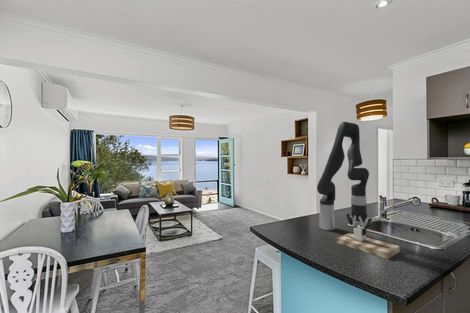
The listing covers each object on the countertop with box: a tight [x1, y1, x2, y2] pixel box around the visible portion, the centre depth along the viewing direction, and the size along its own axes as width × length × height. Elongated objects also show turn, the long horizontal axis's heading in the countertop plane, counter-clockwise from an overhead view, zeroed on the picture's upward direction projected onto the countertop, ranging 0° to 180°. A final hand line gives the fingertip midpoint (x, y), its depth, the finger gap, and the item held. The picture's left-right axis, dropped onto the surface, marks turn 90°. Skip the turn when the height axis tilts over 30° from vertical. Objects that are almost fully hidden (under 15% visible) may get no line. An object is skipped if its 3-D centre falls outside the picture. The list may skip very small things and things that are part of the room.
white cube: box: [352, 226, 368, 241], centre depth 124 cm, size 5×6×6 cm
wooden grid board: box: [336, 232, 401, 260], centre depth 121 cm, size 26×14×3 cm, turn 34°
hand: (359, 234), depth 124 cm, fingers closed on white cube, 4 cm apart
